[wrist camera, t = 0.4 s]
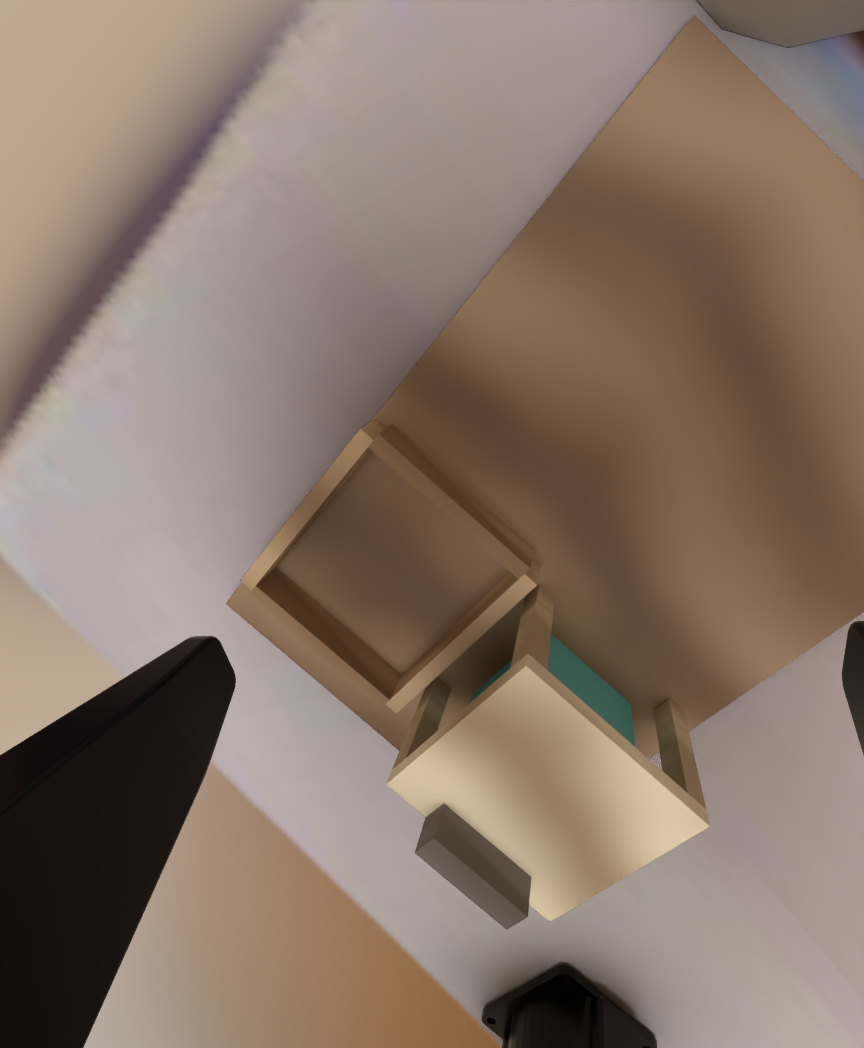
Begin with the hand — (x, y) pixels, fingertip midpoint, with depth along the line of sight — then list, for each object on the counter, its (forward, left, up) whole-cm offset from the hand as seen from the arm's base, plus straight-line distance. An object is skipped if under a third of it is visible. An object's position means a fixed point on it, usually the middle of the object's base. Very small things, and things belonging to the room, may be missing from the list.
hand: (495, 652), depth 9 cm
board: (-2, -3, -15) cm, 15 cm away
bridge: (-8, -7, -14) cm, 18 cm away
